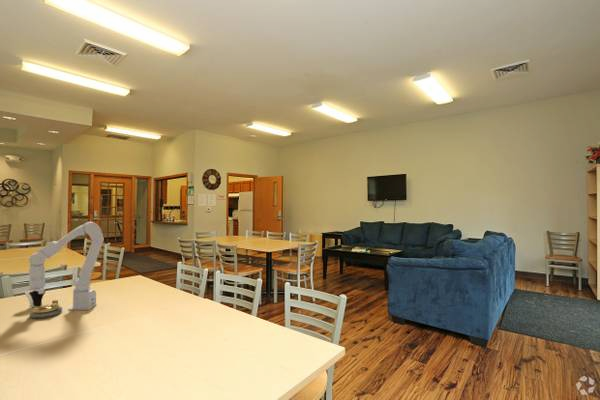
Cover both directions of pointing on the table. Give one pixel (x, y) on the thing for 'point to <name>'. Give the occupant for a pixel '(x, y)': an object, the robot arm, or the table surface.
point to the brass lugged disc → (46, 307)
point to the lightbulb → (29, 298)
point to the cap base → (45, 314)
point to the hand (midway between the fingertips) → (37, 306)
